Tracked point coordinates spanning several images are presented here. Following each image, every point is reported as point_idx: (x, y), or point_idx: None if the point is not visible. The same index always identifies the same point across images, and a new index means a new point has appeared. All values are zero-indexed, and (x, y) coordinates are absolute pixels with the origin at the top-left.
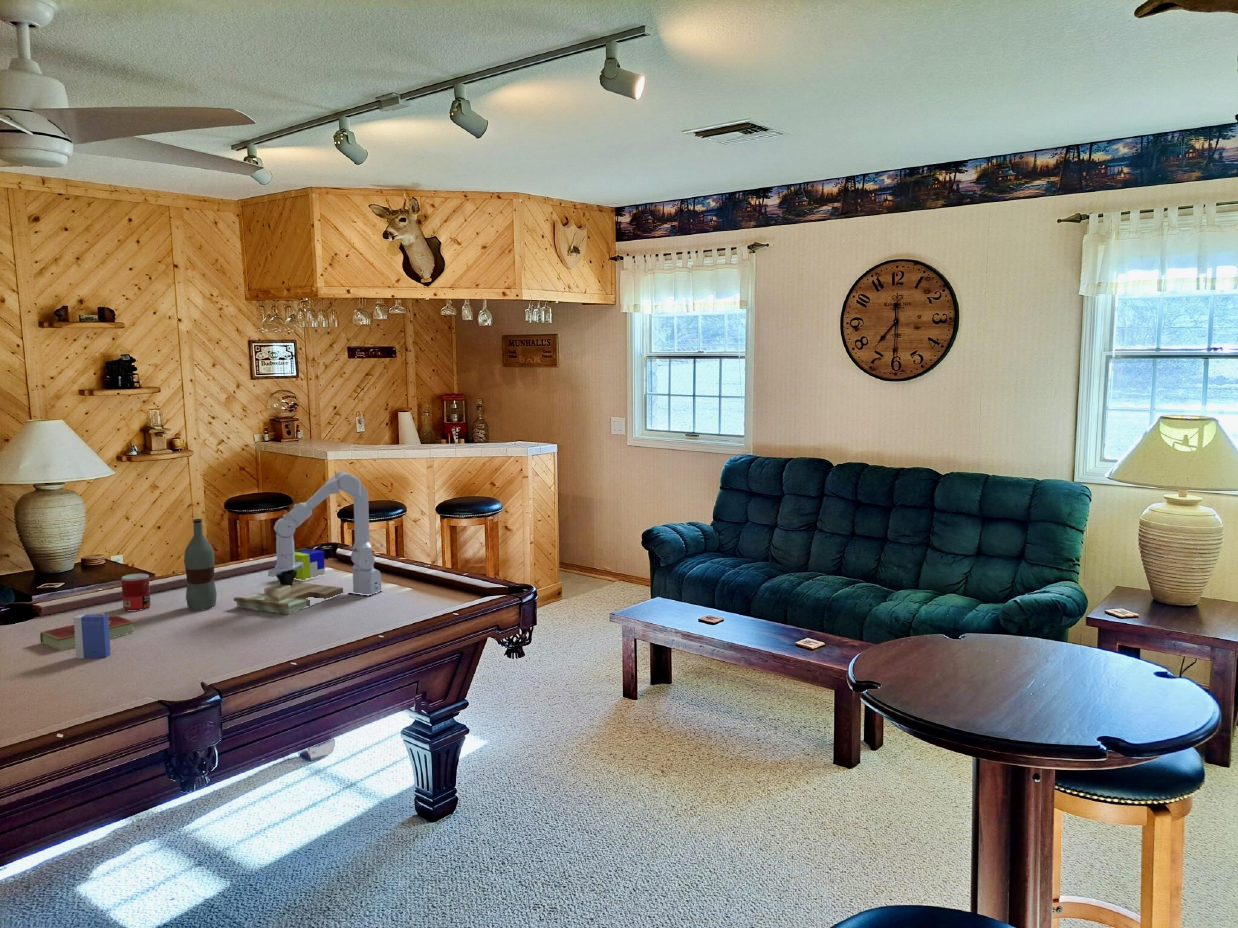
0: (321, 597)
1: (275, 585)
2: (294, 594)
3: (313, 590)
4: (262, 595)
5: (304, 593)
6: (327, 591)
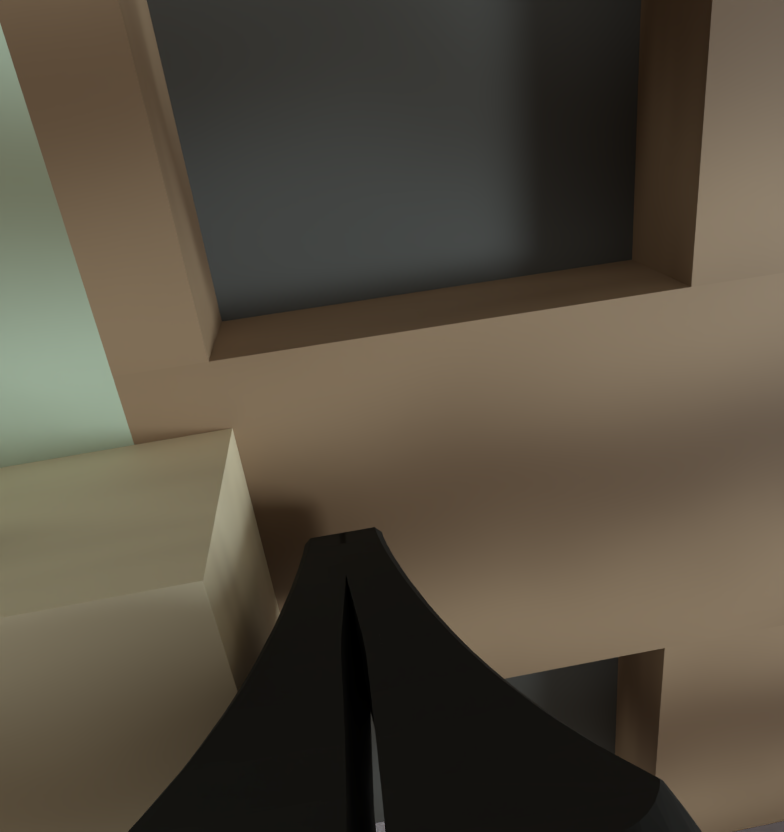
0: (626, 751)
1: (76, 664)
2: (443, 600)
3: (753, 628)
4: (9, 138)
5: (560, 661)
6: (756, 788)
